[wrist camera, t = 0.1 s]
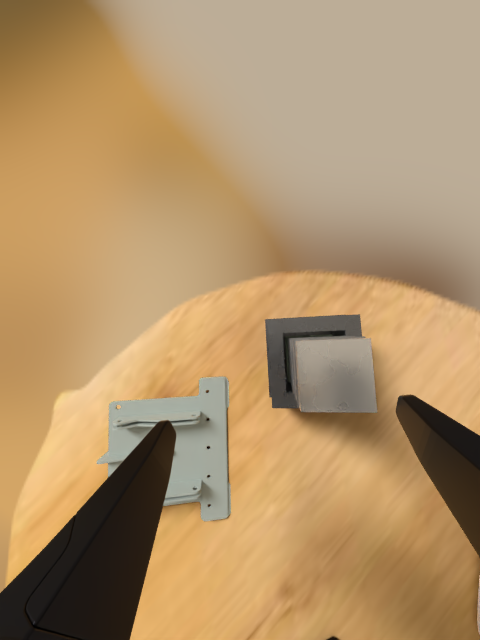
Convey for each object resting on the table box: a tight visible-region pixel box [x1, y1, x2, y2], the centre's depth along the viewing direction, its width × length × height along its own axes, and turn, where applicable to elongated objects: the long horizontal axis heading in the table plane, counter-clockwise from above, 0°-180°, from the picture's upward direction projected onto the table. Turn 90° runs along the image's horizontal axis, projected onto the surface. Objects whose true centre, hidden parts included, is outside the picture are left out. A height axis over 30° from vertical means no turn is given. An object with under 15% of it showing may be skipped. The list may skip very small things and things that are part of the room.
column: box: [285, 334, 377, 413], centre depth 16 cm, size 4×4×9 cm
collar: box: [265, 315, 362, 408], centre depth 20 cm, size 8×8×6 cm
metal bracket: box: [97, 377, 231, 521], centre depth 23 cm, size 14×6×15 cm
